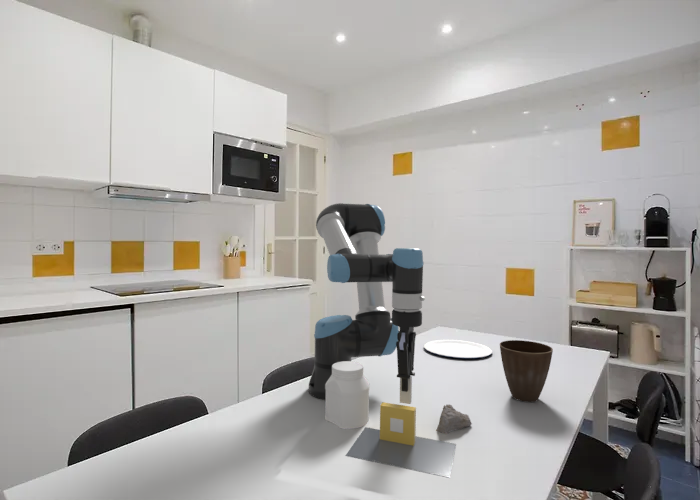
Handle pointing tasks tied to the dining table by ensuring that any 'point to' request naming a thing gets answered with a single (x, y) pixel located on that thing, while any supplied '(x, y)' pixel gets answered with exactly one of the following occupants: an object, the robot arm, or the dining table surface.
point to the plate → (458, 349)
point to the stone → (452, 420)
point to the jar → (347, 396)
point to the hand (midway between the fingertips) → (405, 402)
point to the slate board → (405, 453)
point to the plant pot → (525, 367)
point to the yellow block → (398, 423)
